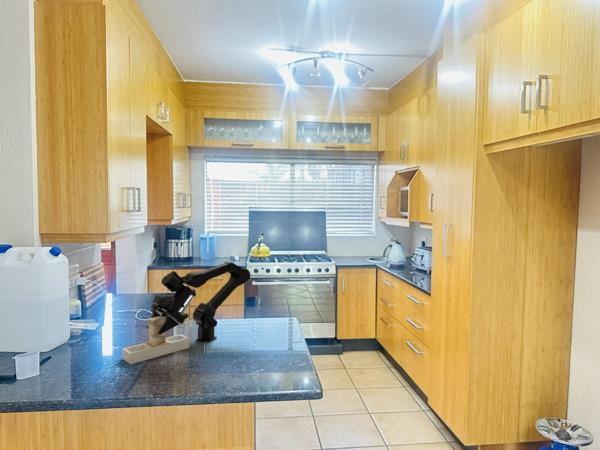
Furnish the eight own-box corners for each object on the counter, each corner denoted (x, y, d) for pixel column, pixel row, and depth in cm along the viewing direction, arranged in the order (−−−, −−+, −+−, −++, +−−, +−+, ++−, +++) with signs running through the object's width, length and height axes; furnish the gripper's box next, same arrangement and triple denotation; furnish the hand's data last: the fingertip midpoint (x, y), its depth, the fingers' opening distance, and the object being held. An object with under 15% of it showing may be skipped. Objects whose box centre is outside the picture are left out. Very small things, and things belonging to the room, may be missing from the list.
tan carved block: (161, 347, 160) (160, 316, 160) (165, 350, 157) (165, 318, 157) (149, 350, 157) (148, 318, 156) (153, 353, 154) (152, 320, 153)
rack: (180, 343, 168) (180, 333, 168) (189, 347, 163) (189, 337, 163) (122, 358, 151) (122, 347, 151) (130, 364, 146) (130, 352, 146)
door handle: (139, 315, 203) (152, 320, 191) (176, 308, 216) (190, 313, 205) (139, 322, 203) (152, 327, 191) (176, 314, 216) (190, 319, 205)
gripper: (155, 283, 165) (128, 315, 158) (177, 290, 152) (149, 325, 145) (172, 299, 171) (148, 330, 164) (195, 307, 158) (170, 341, 151)
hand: (153, 331), depth 156 cm, fingers open, 9 cm apart
